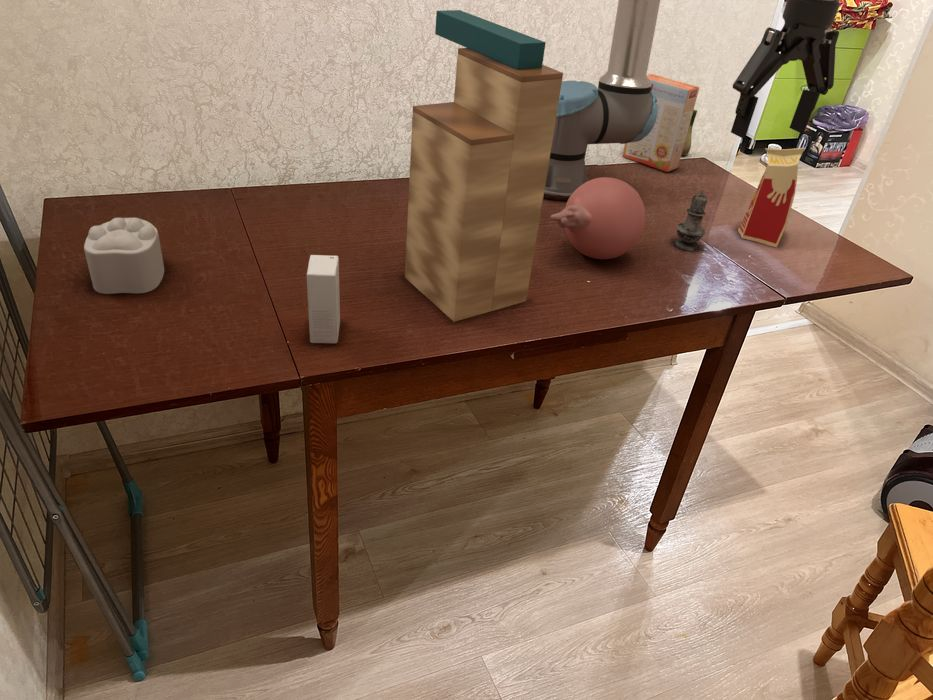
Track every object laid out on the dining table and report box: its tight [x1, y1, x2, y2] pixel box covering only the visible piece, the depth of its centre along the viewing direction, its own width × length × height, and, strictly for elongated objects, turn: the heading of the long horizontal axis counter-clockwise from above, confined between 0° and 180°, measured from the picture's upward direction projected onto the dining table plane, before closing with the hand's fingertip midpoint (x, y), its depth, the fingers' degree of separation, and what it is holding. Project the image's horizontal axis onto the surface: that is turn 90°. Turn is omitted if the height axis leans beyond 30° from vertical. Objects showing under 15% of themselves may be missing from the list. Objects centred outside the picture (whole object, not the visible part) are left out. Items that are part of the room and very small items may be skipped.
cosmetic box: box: [306, 254, 341, 344], centre depth 106 cm, size 6×4×12 cm
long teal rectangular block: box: [434, 9, 546, 70], centre depth 107 cm, size 22×4×4 cm, turn 34°
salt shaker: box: [673, 190, 708, 252], centre depth 144 cm, size 6×6×12 cm
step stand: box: [404, 47, 564, 323], centre depth 113 cm, size 16×15×38 cm
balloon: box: [550, 176, 646, 260], centre depth 134 cm, size 15×20×15 cm
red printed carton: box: [737, 147, 806, 249], centre depth 149 cm, size 9×9×20 cm
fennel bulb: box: [681, 109, 698, 156], centre depth 191 cm, size 6×5×12 cm
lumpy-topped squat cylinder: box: [83, 217, 165, 295], centre depth 116 cm, size 10×13×9 cm
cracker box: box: [622, 73, 700, 173], centre depth 181 cm, size 14×6×21 cm, turn 47°
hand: (767, 132), depth 120 cm, fingers open, 13 cm apart
